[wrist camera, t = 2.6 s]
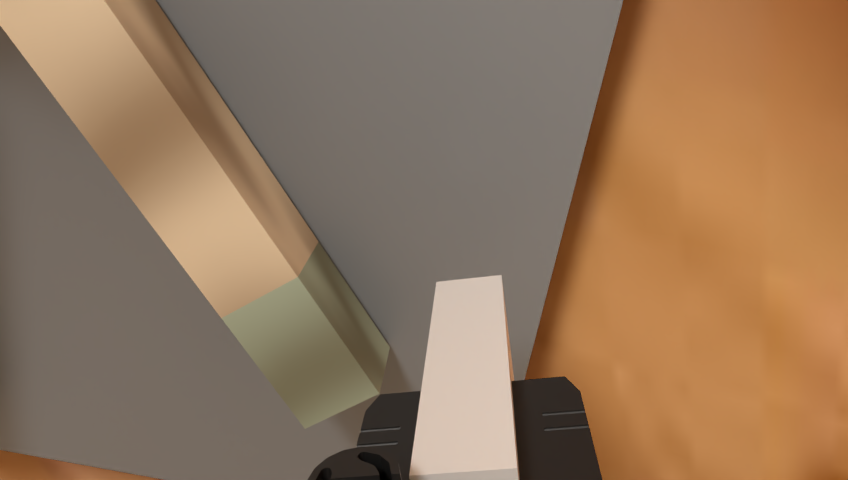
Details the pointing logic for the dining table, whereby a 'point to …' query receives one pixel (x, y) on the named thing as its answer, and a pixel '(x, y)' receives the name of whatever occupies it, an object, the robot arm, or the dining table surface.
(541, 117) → the board
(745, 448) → the dining table surface
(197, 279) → the bar
